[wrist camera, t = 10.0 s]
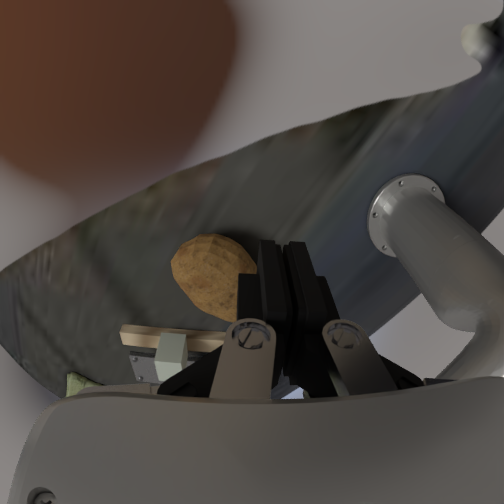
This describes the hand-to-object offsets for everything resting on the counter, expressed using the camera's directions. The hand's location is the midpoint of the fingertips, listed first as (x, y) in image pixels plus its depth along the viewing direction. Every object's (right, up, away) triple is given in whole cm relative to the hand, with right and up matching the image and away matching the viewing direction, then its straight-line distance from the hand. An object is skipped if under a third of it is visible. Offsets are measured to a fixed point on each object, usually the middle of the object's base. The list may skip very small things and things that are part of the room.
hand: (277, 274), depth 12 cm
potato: (-5, 0, +32) cm, 32 cm away
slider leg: (-14, -17, +39) cm, 45 cm away
